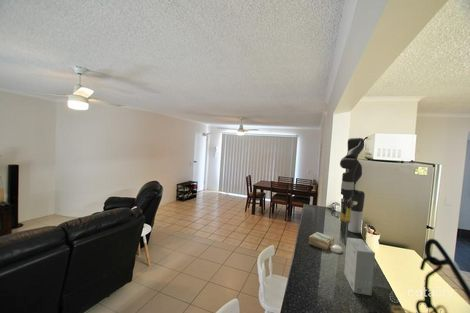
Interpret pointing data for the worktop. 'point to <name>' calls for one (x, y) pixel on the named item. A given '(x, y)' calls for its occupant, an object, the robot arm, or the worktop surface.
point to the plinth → (321, 240)
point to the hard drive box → (359, 266)
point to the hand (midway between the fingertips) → (345, 212)
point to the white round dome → (335, 248)
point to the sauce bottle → (346, 217)
